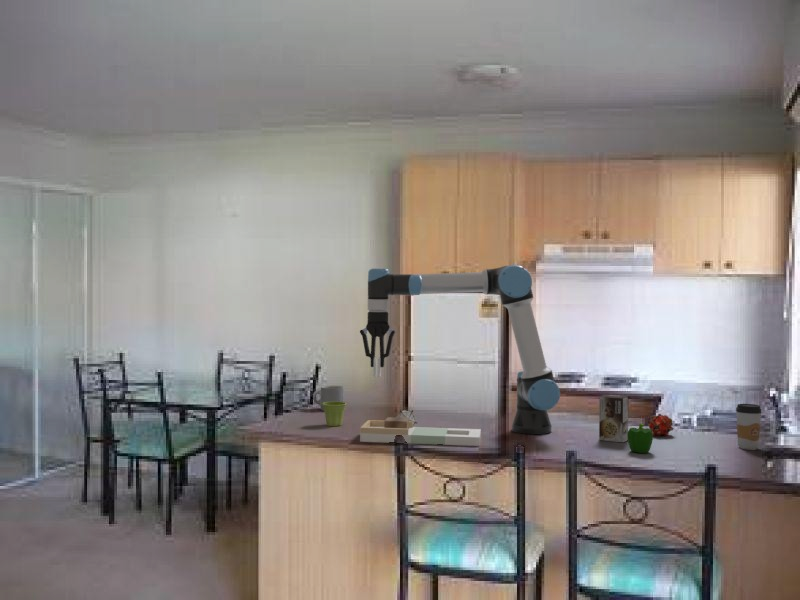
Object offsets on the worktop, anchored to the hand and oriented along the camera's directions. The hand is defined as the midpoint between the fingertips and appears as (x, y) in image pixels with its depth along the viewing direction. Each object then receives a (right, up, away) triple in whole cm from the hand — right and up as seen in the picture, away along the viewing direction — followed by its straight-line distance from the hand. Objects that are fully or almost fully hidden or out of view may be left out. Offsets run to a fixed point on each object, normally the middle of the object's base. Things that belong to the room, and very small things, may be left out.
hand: (377, 376), depth 290 cm
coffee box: (+86, -24, +1) cm, 89 cm away
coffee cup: (+130, -24, -10) cm, 132 cm away
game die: (+10, -23, +16) cm, 30 cm away
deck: (+16, -23, -2) cm, 28 cm away
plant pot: (-18, -22, +26) cm, 38 cm away
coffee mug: (-24, -21, +66) cm, 73 cm away
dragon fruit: (+106, -24, +12) cm, 110 cm away
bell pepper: (+89, -24, -19) cm, 94 cm away
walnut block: (+7, -20, -1) cm, 21 cm away
